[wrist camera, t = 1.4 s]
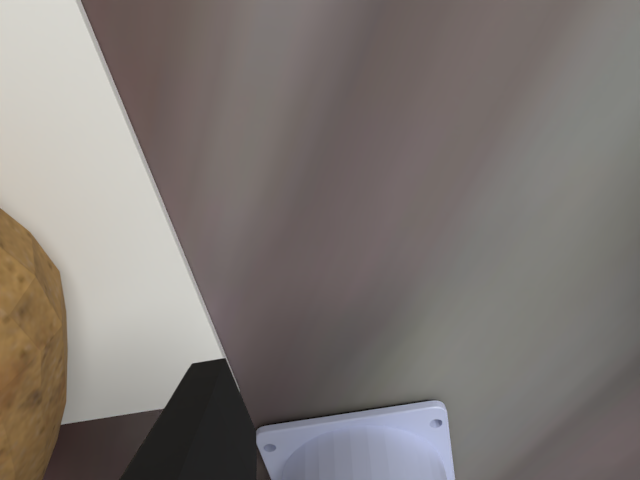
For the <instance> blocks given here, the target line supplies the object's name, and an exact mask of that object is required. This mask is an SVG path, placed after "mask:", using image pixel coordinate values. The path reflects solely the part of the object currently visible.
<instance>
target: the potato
mask: <svg viewBox="0 0 640 480" xmlns="http://www.w3.org/2000/svg"><path fill="white" fill-rule="evenodd" d="M67 359H68V344H67V316H66V307H65V301H64V294H63V288H62V282H61V276H60V271H59V270H58V269H57V267H56V266H55V265H54V263H53V262H52V260H51V259H50V258H49V256H48V255H47V254H46V252H45V251H44V250H43V248H42V247H41V246H40V244H39V243H38V242H37V240H36V239H35V238H34V236H33V235H32V234H31V232H30V231H28V230H27V229H26V228H25V227H23V226H22V225H21V224H20V223H18V222H17V221H16V220H15V219H13V218H12V217H11V216H10V215H8V214H7V213H6V212H5V211H3V210H2V209H1V208H0V480H42V479H43V476H44V474H45V471H46V468H47V466H48V463H49V460H50V458H51V455H52V452H53V450H54V447H55V444H56V442H57V438H58V434H59V430H60V426H61V422H62V418H63V414H64V409H65V405H66V395H67Z"/></svg>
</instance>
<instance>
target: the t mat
mask: <svg viewBox="0 0 640 480" xmlns="http://www.w3.org/2000/svg"><path fill="white" fill-rule="evenodd" d="M0 208H1V209H2V210H3V211H5V212H6V213H7V214H8V215H10V216H11V217H12V218H13V219H15V220H16V221H17V222H18V223H20V224H21V225H22V226H23V227H25V228H26V229H27V230H28V231H30V232H31V234H32V235H33V236H34V238H35V239H36V240H37V242H38V243H39V244H40V246H41V247H42V248H43V250H44V251H45V252H46V254H47V255H48V256H49V258H50V259H51V260H52V262H53V263H54V265H55V266H56V267H57V269H58V270H59V271H60V276H61V282H62V288H63V294H64V301H65V307H66V316H67V344H68V359H67V395H66V405H65V409H64V414H63V418H62V422H61V425H62V424H68V423H75V422H81V421H87V420H94V419H100V418H106V417H113V416H119V415H126V414H132V413H138V412H145V411H151V410H158V409H164V408H165V406H166V405H167V403H168V401H169V400H170V398H171V396H172V395H173V393H174V391H175V390H176V388H177V386H178V385H179V383H180V381H181V380H182V378H183V376H184V375H185V373H186V372H187V370H188V368H189V367H190V366H191V364H192V363H198V362H204V361H210V360H216V359H222V358H226V360H227V357H226V355H225V353H224V350H223V348H222V345H221V343H220V340H219V338H218V335H217V333H216V331H215V328H214V326H213V323H212V321H211V318H210V316H209V313H208V311H207V309H206V306H205V304H204V301H203V299H202V296H201V294H200V291H199V289H198V287H197V284H196V282H195V279H194V277H193V274H192V272H191V269H190V267H189V265H188V262H187V260H186V257H185V255H184V252H183V250H182V247H181V245H180V242H179V240H178V238H177V235H176V233H175V230H174V228H173V225H172V223H171V220H170V218H169V216H168V213H167V211H166V208H165V206H164V203H163V201H162V198H161V196H160V194H159V191H158V189H157V186H156V184H155V181H154V179H153V176H152V174H151V172H150V169H149V167H148V164H147V162H146V159H145V157H144V154H143V152H142V150H141V147H140V145H139V142H138V140H137V137H136V135H135V132H134V130H133V128H132V125H131V123H130V120H129V118H128V115H127V113H126V110H125V108H124V106H123V103H122V101H121V98H120V96H119V93H118V91H117V88H116V86H115V84H114V81H113V79H112V76H111V74H110V71H109V69H108V66H107V64H106V62H105V59H104V57H103V54H102V52H101V49H100V47H99V44H98V42H97V40H96V37H95V35H94V32H93V30H92V27H91V25H90V22H89V20H88V18H87V15H86V13H85V10H84V8H83V5H82V3H81V0H0ZM227 363H228V365H229V362H228V360H227ZM229 368H230V370H231V367H230V365H229ZM231 372H232V370H231ZM232 375H233V372H232ZM233 377H234V375H233ZM234 380H235V382H236V379H235V377H234ZM236 385H237V387H238V384H237V382H236ZM238 389H239V387H238ZM239 392H240V389H239Z"/></svg>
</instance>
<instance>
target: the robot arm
mask: <svg viewBox="0 0 640 480" xmlns="http://www.w3.org/2000/svg"><path fill="white" fill-rule="evenodd" d="M435 419H436V420H435ZM256 444H257V447H258V449H259V451H260V454H261V456H262V458H263V461H264V463H265V466H266V468H267V470H268V473H269V475H270V478H271V480H455V476H454V467H453V459H452V450H451V442H450V433H449V425H448V416H447V411H446V407H445V405H444V403H442V402H440V401H437V400H434V401H426V402H419V403H412V404H406V405H399V406H393V407H386V408H379V409H373V410H366V411H360V412H353V413H346V414H340V415H333V416H326V417H320V418H313V419H307V420H300V421H293V422H287V423H280V424H273V425H267V426H262V427H260V428H258V429H257V431H255V428H254V426H253V423H252V421H251V419H250V416H249V414H248V411H247V409H246V406H245V404H244V402H243V399H242V397H241V394H240V392H239V389H238V387H237V385H236V382H235V380H234V377H233V375H232V372H231V370H230V368H229V365H228V363H227V360H226V358H222V359H216V360H210V361H204V362H198V363H192V364H191V366H190V367H189V368H188V370H187V372H186V373H185V375H184V376H183V378H182V380H181V381H180V383H179V385H178V386H177V388H176V390H175V391H174V393H173V395H172V396H171V398H170V400H169V401H168V403H167V405H166V406H165V408H164V410H163V411H162V413H161V415H160V416H159V418H158V419H157V421H156V423H155V424H154V426H153V428H152V429H151V431H150V432H149V434H148V436H147V437H146V439H145V440H144V442H143V444H142V445H141V447H140V448H139V450H138V451H137V453H136V454H135V456H134V458H133V459H132V461H131V462H130V464H129V465H128V467H127V468H126V470H125V472H124V473H123V475H122V476H121V478H120V479H119V480H256Z"/></svg>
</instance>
